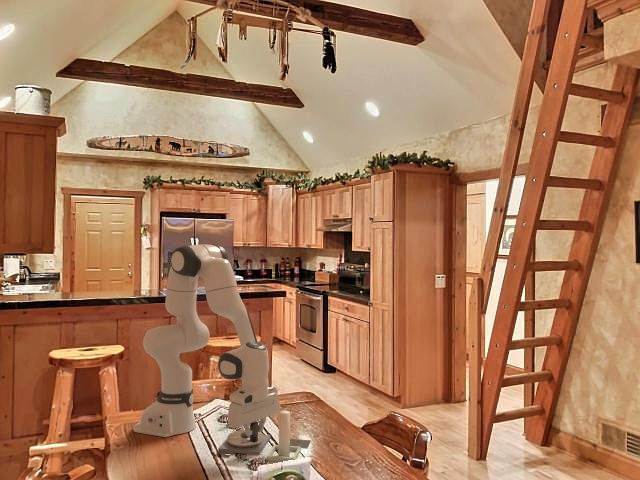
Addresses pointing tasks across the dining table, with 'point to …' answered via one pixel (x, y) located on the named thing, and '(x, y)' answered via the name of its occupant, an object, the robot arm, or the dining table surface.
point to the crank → (245, 437)
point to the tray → (281, 458)
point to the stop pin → (284, 433)
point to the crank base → (229, 449)
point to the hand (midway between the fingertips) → (254, 433)
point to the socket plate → (300, 443)
